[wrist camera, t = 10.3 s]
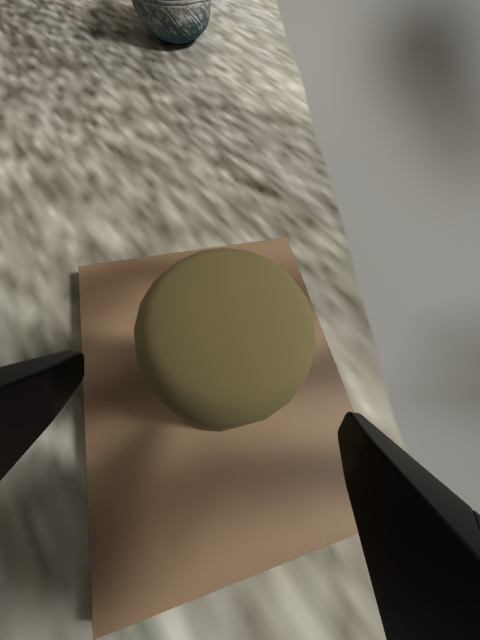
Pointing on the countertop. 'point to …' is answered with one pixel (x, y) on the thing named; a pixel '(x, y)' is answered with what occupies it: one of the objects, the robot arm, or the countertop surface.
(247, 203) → the countertop surface
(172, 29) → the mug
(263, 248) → the walnut board
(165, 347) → the cork
